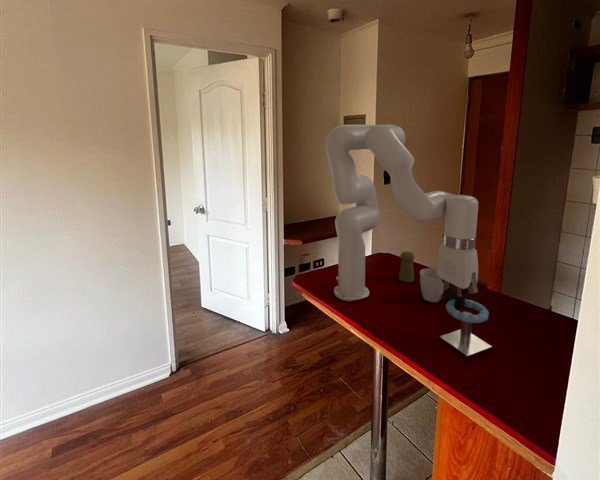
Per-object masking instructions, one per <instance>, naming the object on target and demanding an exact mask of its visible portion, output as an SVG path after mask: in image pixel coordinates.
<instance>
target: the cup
mask: <svg viewBox="0 0 600 480" xmlns="http://www.w3.org/2000/svg"><path fill="white" fill-rule="evenodd" d="M419 282H420V290H421V295H422V298H423V299H424V300H425V301H426V302H430V303H439V302H440V301H441V300H442V298H443V294H444V290H445V289H444V284H443V282H442V279H440V278H439V277H438V276H437V274H436V268H432V267H430V268H429V267H428V268H426V267H425V268H421V270H420V271H419Z"/></svg>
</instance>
